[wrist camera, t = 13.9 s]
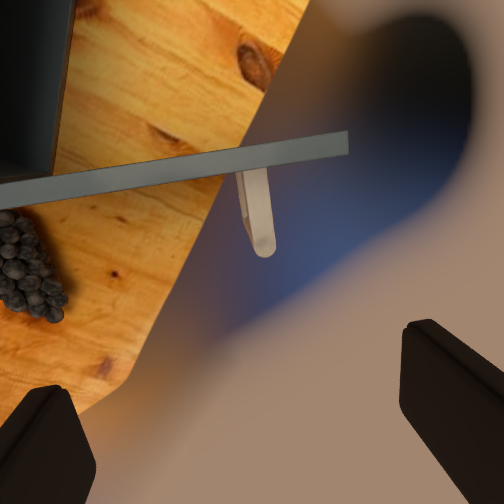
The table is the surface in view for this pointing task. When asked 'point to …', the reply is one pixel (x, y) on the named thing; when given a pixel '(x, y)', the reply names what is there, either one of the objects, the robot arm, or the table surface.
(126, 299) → the table surface
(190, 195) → the table surface
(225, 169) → the cupboard door
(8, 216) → the fruit
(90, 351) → the table surface
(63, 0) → the cupboard
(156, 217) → the table surface
